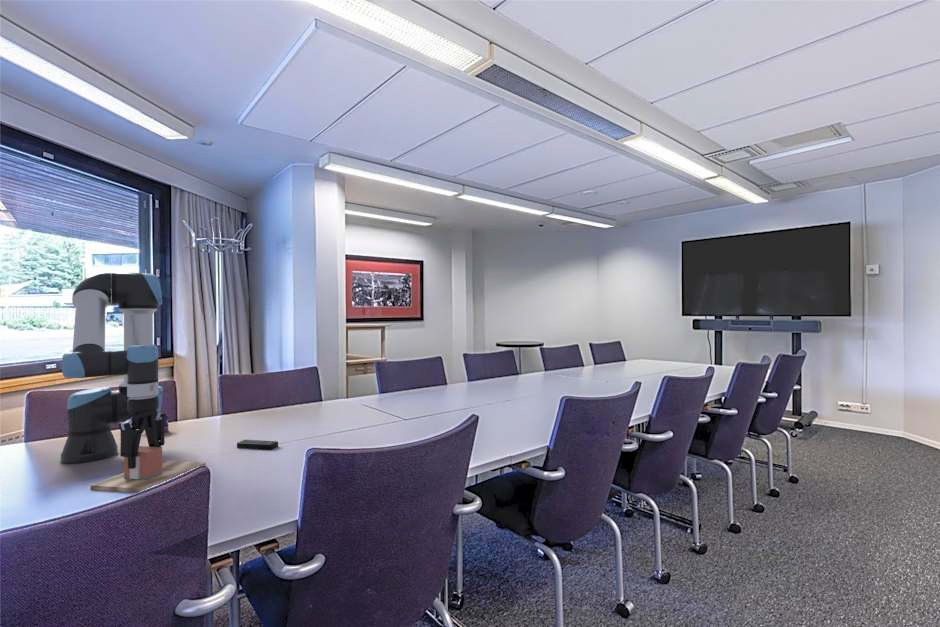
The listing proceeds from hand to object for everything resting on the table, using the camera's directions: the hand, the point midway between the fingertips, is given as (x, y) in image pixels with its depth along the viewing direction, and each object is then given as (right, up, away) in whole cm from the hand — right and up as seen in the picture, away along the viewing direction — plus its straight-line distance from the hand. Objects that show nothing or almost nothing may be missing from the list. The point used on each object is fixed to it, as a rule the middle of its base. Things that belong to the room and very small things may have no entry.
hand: (143, 475), depth 132 cm
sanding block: (0, 0, 0) cm, 0 cm away
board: (+1, -2, +3) cm, 3 cm away
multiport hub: (+18, -2, +33) cm, 38 cm away
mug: (-35, -2, +54) cm, 65 cm away
